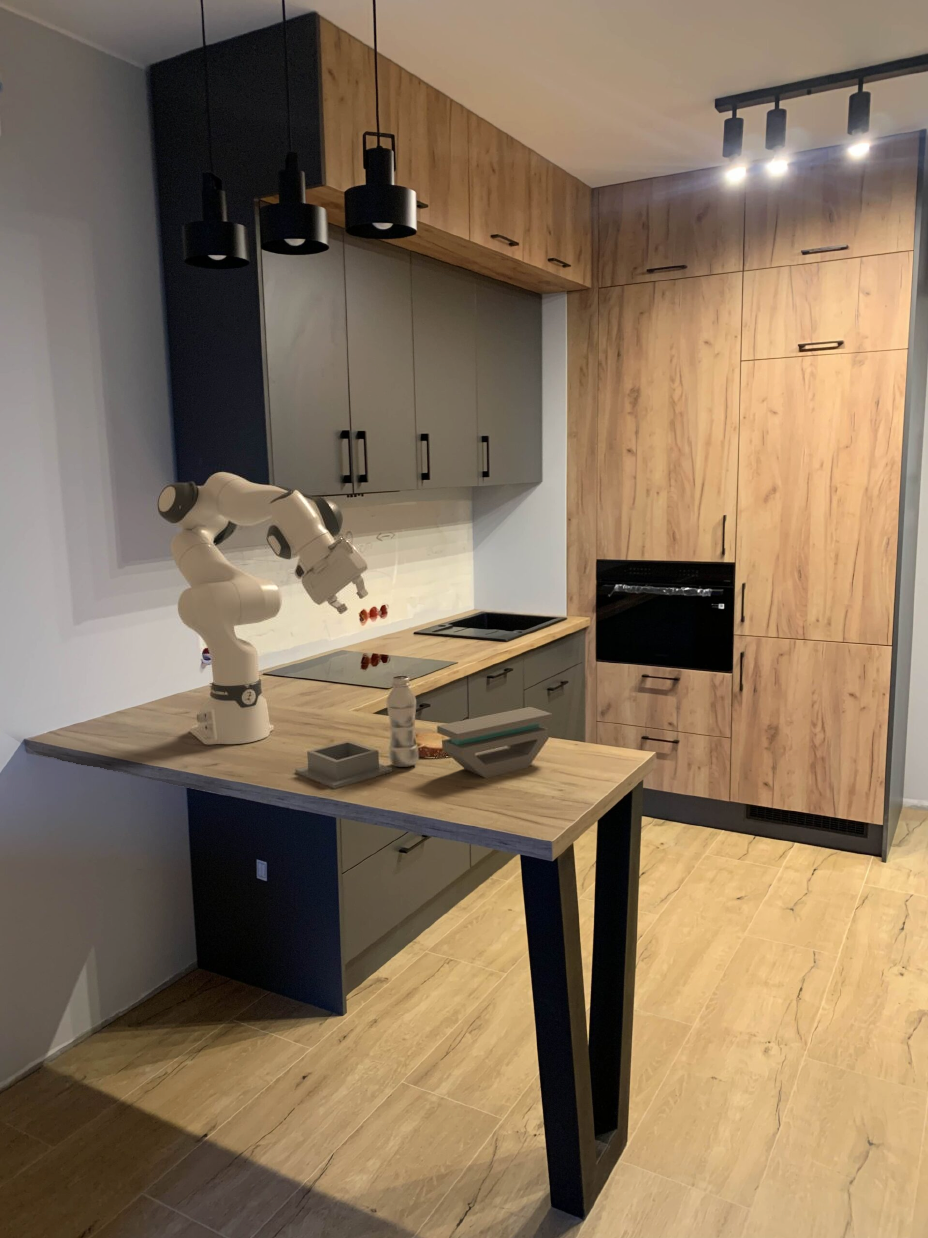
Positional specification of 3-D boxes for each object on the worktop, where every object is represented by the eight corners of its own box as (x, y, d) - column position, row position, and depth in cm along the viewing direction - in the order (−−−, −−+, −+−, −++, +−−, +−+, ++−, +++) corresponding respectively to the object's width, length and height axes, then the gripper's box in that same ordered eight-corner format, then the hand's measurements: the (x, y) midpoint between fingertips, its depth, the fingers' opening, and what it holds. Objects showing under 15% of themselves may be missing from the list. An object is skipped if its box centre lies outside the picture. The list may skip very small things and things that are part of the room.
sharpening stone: (530, 753, 213) (530, 706, 211) (552, 761, 206) (552, 713, 205) (438, 775, 199) (437, 725, 197) (458, 784, 193) (457, 733, 191)
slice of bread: (495, 742, 223) (495, 727, 223) (466, 765, 207) (466, 748, 206) (427, 736, 230) (426, 721, 229) (394, 757, 214) (393, 741, 213)
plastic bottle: (418, 769, 203) (415, 680, 200) (387, 770, 203) (384, 681, 200) (420, 760, 209) (417, 673, 206) (389, 761, 209) (386, 674, 206)
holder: (295, 772, 203) (294, 751, 202) (351, 757, 213) (350, 737, 212) (334, 789, 192) (333, 766, 191) (392, 771, 202) (391, 750, 201)
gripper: (352, 529, 206) (387, 581, 207) (310, 566, 221) (342, 614, 222) (332, 539, 202) (368, 592, 202) (290, 576, 217) (323, 626, 217)
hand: (354, 604), depth 212 cm, fingers open, 8 cm apart
